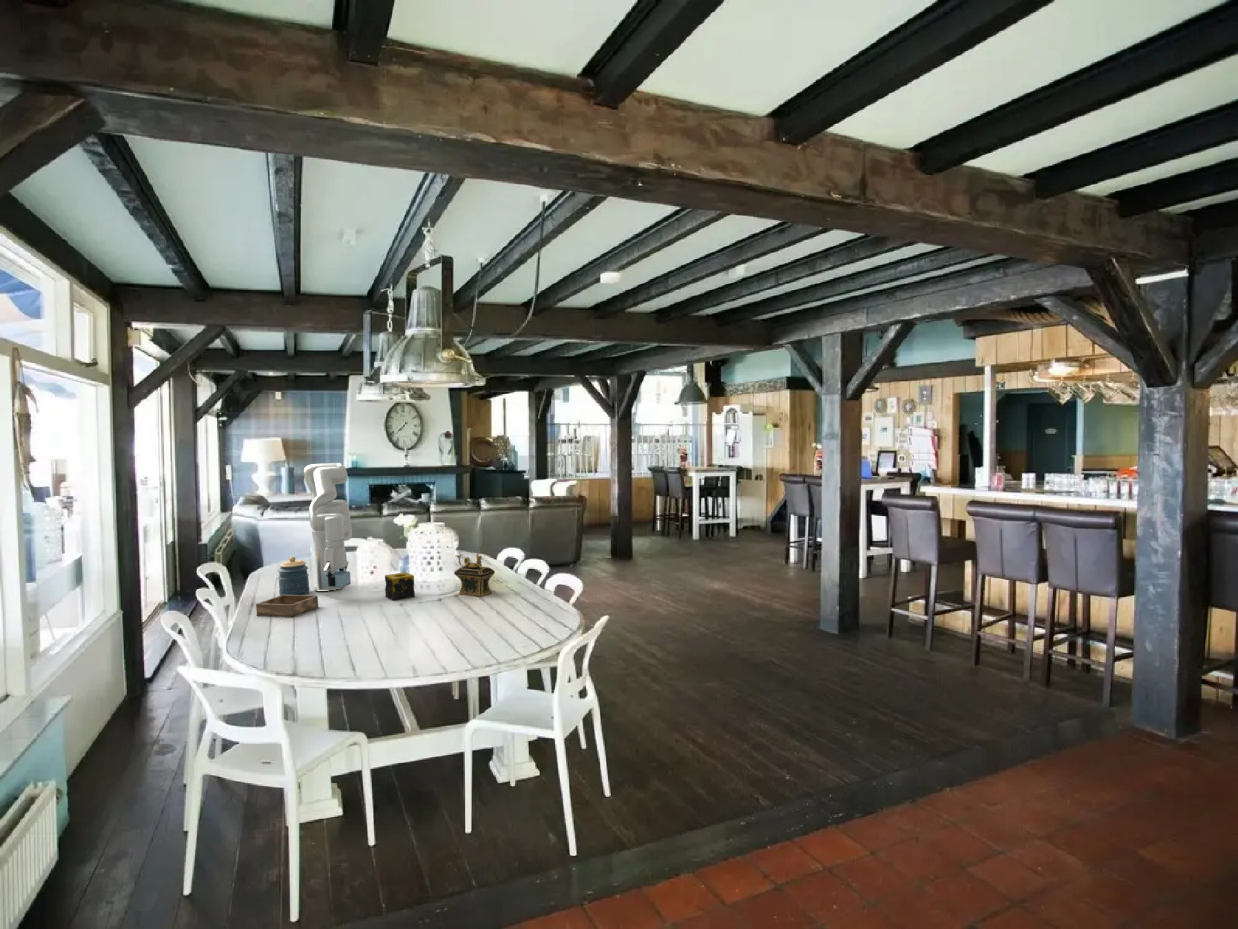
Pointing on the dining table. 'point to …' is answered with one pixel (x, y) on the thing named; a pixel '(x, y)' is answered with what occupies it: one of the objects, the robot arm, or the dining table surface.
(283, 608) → the walnut crate
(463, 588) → the decorative box
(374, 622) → the dining table surface
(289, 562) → the canister
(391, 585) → the black gold cube box
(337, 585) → the blue crate
